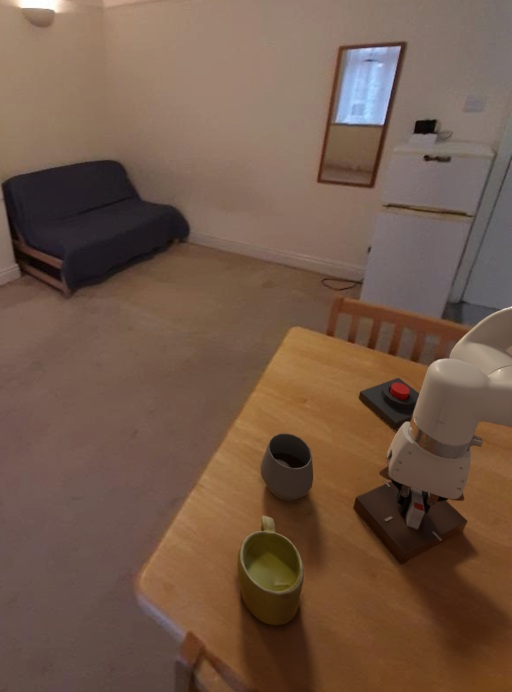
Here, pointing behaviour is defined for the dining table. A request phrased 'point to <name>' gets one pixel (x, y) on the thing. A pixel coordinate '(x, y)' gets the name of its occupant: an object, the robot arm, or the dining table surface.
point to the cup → (287, 467)
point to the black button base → (390, 403)
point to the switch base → (392, 525)
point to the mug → (270, 575)
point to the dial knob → (415, 509)
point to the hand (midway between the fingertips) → (410, 508)
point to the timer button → (399, 391)
